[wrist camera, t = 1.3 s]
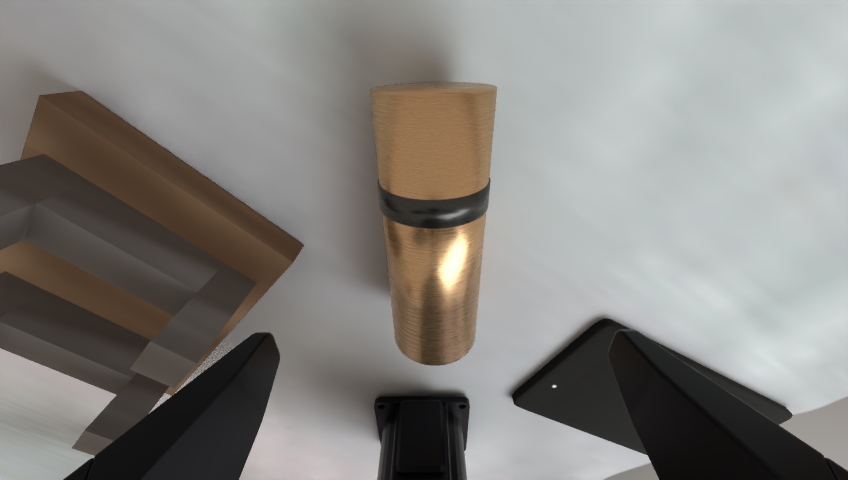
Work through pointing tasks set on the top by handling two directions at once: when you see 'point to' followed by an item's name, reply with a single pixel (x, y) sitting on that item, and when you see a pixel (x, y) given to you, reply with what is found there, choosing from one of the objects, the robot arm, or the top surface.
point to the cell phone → (608, 389)
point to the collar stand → (122, 260)
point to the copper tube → (434, 209)
